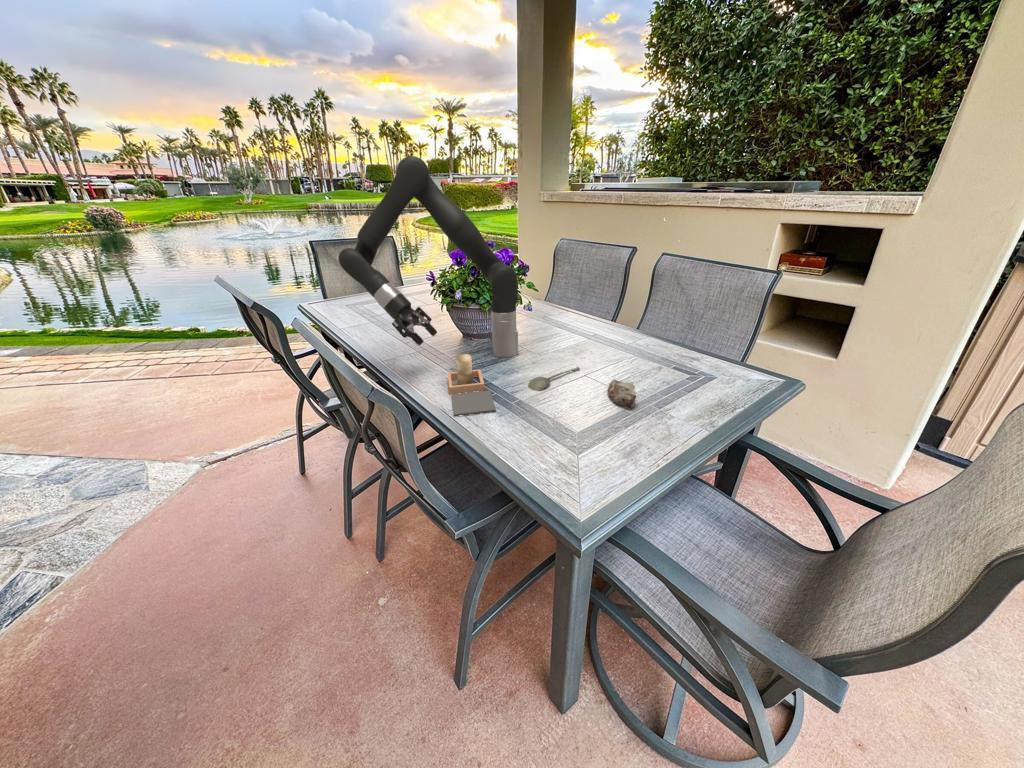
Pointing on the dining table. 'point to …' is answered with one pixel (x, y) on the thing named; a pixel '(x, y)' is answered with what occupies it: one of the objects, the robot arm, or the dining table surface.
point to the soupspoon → (545, 381)
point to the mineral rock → (622, 392)
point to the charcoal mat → (473, 403)
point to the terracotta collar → (466, 387)
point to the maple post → (464, 369)
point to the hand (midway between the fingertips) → (428, 338)
